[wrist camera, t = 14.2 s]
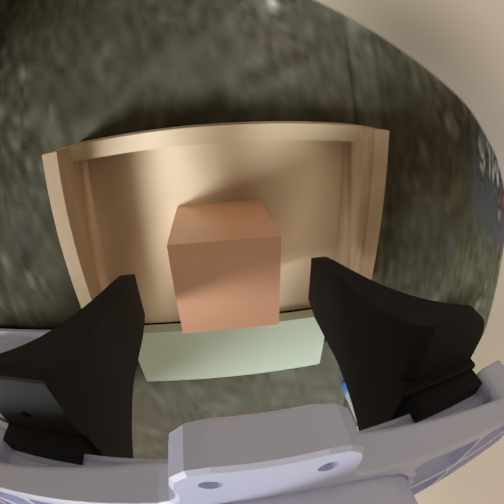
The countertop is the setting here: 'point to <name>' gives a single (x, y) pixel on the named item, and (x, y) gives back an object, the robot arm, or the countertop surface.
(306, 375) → the countertop surface
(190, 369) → the panel
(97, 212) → the tray
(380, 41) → the countertop surface
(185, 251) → the terracotta block
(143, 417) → the countertop surface
